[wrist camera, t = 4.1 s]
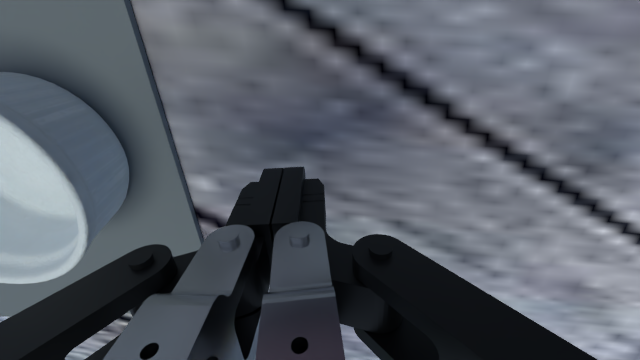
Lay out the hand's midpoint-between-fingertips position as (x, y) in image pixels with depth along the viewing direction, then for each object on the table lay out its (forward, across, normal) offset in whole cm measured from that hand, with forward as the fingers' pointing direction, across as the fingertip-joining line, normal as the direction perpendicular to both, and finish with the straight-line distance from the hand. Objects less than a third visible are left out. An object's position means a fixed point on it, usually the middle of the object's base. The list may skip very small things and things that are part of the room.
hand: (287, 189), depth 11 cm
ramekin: (+4, +12, -1) cm, 13 cm away
